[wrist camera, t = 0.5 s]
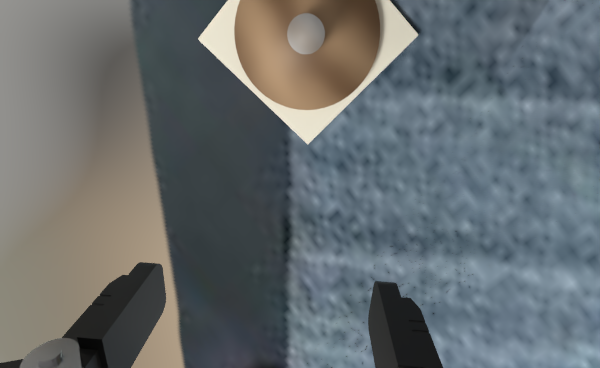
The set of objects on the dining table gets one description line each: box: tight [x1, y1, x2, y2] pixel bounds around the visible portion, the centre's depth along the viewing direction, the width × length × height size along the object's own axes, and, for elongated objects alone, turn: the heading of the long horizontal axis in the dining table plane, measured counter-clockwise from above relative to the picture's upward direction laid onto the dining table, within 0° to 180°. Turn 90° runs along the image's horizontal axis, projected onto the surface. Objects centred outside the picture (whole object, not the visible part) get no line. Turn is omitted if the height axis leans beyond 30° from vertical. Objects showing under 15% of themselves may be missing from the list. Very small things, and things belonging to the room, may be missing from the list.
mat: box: [198, 0, 418, 144], centre depth 33 cm, size 15×15×1 cm
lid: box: [234, 0, 380, 110], centre depth 30 cm, size 14×14×6 cm
